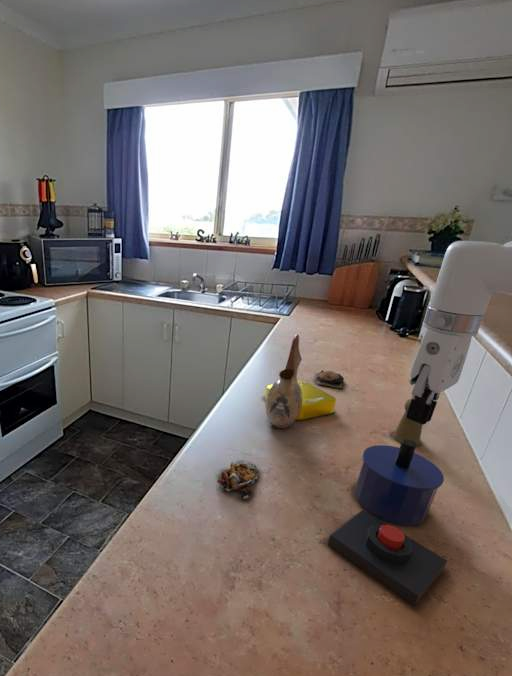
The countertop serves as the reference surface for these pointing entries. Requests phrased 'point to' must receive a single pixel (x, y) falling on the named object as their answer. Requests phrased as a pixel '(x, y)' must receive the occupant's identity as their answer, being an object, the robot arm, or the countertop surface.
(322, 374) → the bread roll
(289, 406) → the ceramic vessel
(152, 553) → the countertop surface
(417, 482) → the blue round disc
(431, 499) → the tin
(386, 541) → the release button
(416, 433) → the brown pawn
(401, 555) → the block
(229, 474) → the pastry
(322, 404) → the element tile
